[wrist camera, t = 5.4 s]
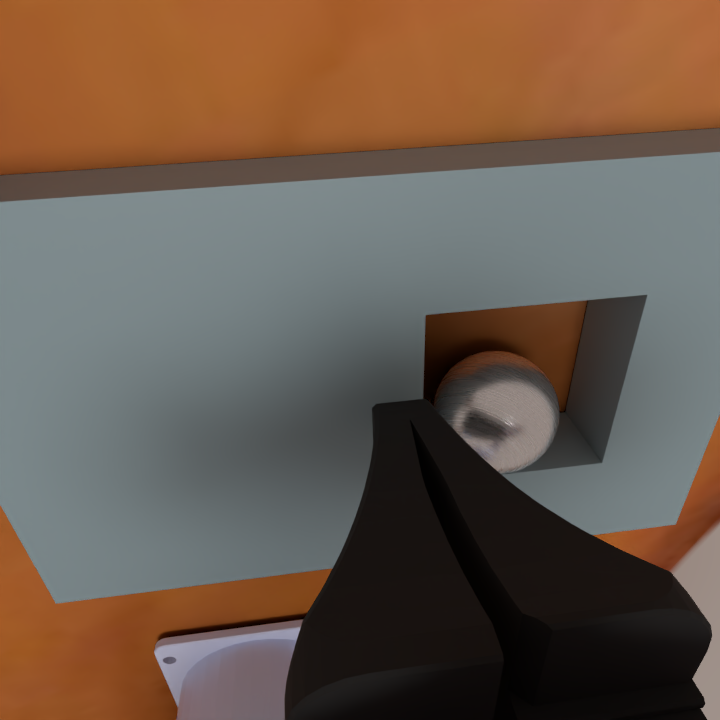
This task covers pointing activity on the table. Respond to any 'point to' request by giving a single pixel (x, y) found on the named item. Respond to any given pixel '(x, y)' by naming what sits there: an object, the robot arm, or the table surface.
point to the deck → (334, 341)
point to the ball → (500, 408)
